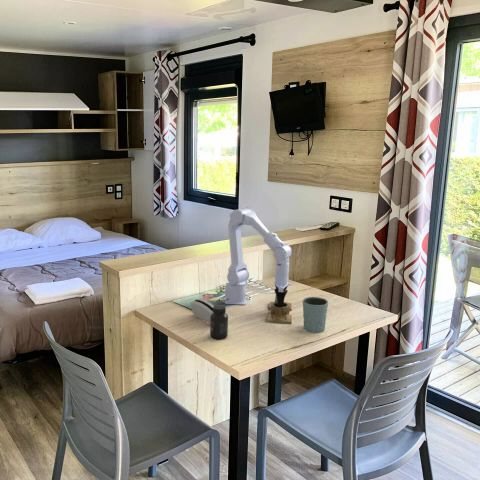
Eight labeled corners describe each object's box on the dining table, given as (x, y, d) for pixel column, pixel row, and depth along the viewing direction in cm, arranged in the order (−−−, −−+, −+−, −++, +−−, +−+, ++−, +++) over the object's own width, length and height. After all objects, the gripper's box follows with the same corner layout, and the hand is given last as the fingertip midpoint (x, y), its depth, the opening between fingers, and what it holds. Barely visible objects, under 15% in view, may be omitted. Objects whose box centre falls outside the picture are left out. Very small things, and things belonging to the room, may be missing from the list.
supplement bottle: (207, 334, 191) (207, 305, 188) (222, 331, 194) (223, 303, 191) (214, 341, 185) (215, 311, 182) (230, 338, 188) (231, 308, 186)
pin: (272, 308, 213) (274, 291, 211) (272, 304, 218) (275, 287, 216) (284, 309, 212) (286, 292, 211) (284, 305, 217) (286, 289, 216)
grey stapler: (226, 324, 201) (220, 304, 197) (217, 330, 199) (210, 310, 195) (202, 312, 214) (196, 293, 210) (194, 318, 212) (187, 298, 207)
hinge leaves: (267, 322, 205) (267, 313, 204) (269, 303, 227) (270, 295, 226) (291, 323, 204) (291, 314, 203) (291, 305, 226) (291, 296, 225)
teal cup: (331, 331, 198) (333, 303, 195) (310, 335, 193) (312, 306, 190) (316, 322, 206) (318, 295, 204) (296, 326, 202) (297, 298, 199)
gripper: (291, 278, 204) (289, 309, 207) (291, 268, 218) (289, 297, 221) (274, 277, 205) (272, 307, 208) (275, 267, 219) (274, 296, 222)
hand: (280, 302), depth 215 cm, fingers closed on pin, 5 cm apart
